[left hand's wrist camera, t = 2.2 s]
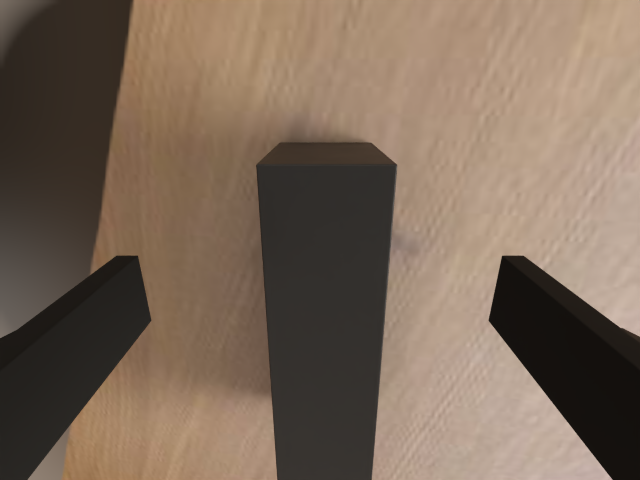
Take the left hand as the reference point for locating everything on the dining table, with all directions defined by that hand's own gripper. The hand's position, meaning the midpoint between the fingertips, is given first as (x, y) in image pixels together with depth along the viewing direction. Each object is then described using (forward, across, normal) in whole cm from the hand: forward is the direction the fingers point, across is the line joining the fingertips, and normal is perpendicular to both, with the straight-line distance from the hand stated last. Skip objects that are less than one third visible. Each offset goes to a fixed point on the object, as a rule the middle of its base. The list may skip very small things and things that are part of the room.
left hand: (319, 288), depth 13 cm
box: (+13, 0, -7) cm, 15 cm away
